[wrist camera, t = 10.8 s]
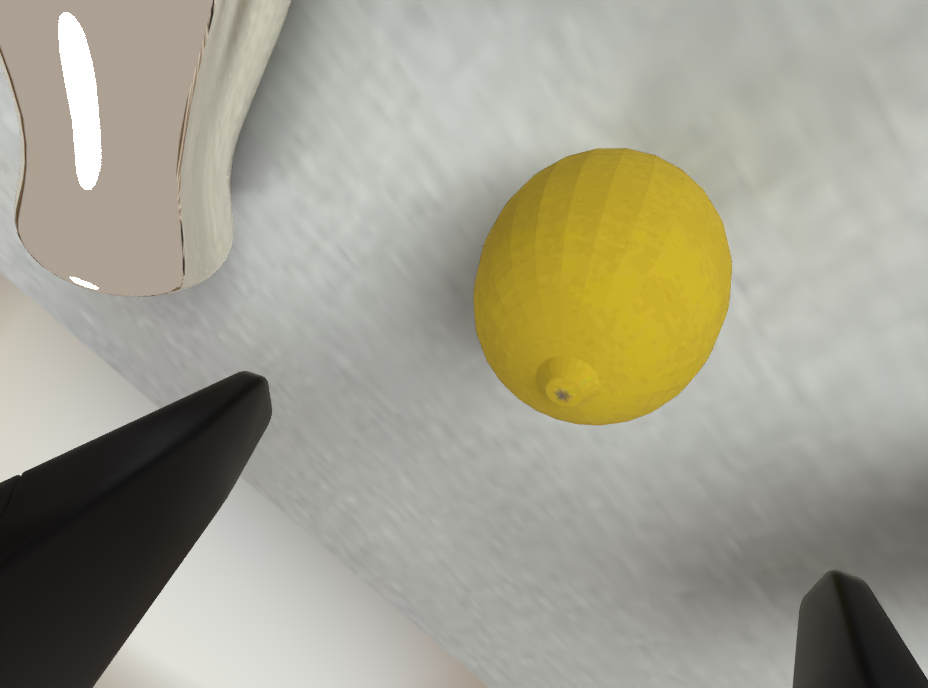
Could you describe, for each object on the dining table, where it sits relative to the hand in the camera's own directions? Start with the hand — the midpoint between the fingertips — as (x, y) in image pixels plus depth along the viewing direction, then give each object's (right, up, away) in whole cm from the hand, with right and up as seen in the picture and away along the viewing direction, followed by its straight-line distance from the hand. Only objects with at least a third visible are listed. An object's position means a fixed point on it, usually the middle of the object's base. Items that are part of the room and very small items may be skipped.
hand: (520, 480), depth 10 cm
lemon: (+4, +6, +8) cm, 10 cm away
